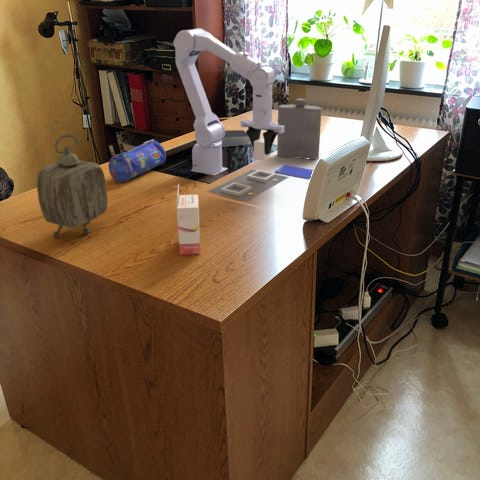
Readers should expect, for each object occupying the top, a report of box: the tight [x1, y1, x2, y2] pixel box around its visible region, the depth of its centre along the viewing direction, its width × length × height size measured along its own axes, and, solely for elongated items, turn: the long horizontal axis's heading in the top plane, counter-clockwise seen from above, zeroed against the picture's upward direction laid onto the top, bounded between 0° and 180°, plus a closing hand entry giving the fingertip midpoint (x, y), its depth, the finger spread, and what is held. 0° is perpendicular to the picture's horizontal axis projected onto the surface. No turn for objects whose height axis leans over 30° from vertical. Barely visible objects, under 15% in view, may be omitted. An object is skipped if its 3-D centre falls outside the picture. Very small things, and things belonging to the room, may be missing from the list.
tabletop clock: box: [36, 133, 108, 239], centre depth 130 cm, size 14×9×25 cm, turn 150°
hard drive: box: [273, 164, 314, 180], centre depth 174 cm, size 2×8×12 cm
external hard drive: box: [222, 129, 251, 147], centre depth 206 cm, size 13×19×4 cm
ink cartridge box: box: [176, 183, 201, 256], centre depth 125 cm, size 9×5×15 cm, turn 5°
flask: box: [276, 98, 322, 160], centre depth 187 cm, size 15×6×20 cm, turn 73°
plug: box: [253, 138, 271, 161], centre depth 166 cm, size 4×4×6 cm
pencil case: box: [108, 138, 167, 183], centre depth 174 cm, size 22×9×10 cm, turn 153°
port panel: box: [207, 169, 290, 202], centre depth 165 cm, size 14×24×2 cm, turn 146°
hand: (261, 152), depth 166 cm, fingers closed on plug, 4 cm apart
